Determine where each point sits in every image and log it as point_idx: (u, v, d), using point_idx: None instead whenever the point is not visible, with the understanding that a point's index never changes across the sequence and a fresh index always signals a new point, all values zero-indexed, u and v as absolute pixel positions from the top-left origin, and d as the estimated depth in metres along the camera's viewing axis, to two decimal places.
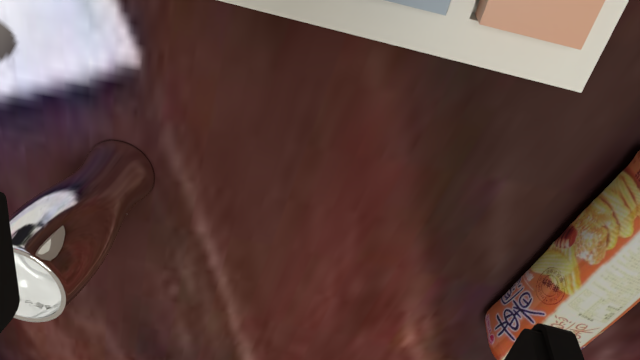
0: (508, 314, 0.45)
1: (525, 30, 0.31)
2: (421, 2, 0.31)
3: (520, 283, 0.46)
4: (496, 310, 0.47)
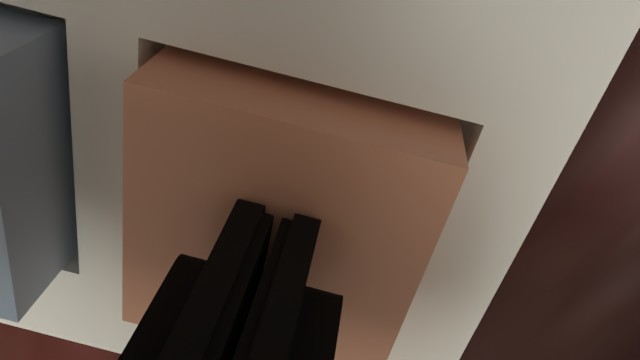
0: None
1: None
2: None
3: None
4: None
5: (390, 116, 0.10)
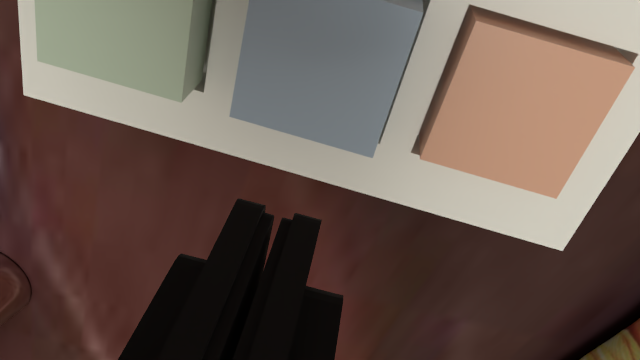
0: None
1: (481, 170, 0.22)
2: (338, 139, 0.21)
3: None
4: None
5: (588, 45, 0.20)
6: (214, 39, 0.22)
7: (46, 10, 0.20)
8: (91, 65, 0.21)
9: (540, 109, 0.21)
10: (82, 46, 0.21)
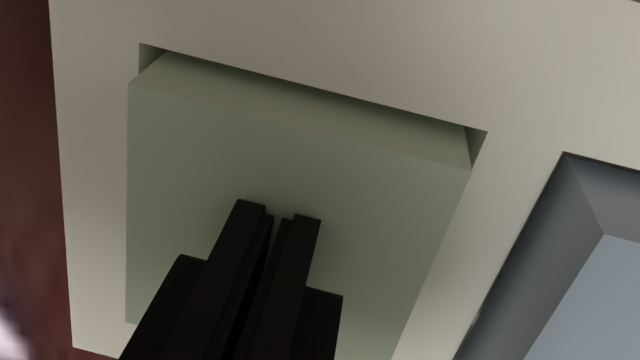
0: None
1: None
2: None
3: None
4: None
5: None
6: (425, 292, 0.12)
7: (147, 256, 0.11)
8: None
9: None
10: None
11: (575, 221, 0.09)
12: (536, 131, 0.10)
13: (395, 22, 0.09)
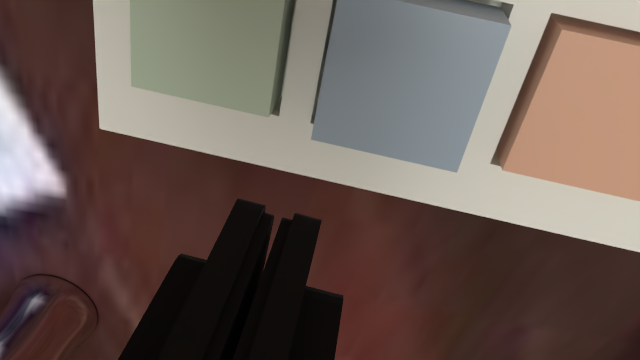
0: None
1: (567, 178, 0.22)
2: (421, 156, 0.21)
3: None
4: None
5: None
6: (290, 63, 0.22)
7: (141, 38, 0.22)
8: (182, 87, 0.22)
9: (628, 113, 0.20)
10: (174, 69, 0.22)
11: None
12: None
13: None
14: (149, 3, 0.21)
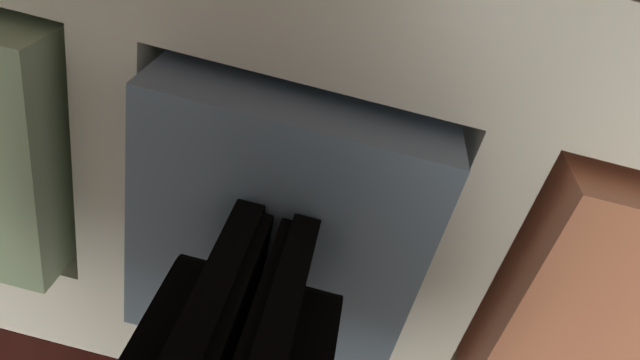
0: None
1: None
2: None
3: None
4: None
5: None
6: (79, 202, 0.12)
7: None
8: None
9: None
10: None
11: None
12: (105, 21, 0.10)
13: None
14: None
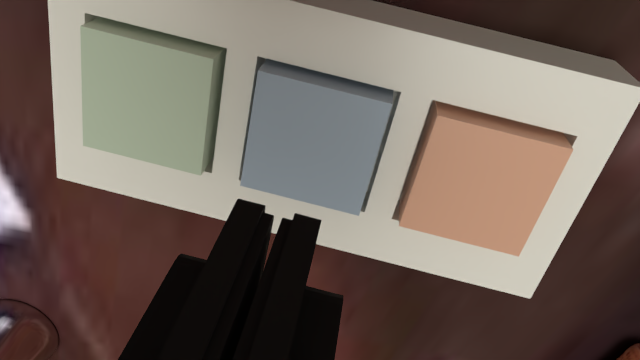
0: None
1: (452, 234, 0.26)
2: (329, 201, 0.26)
3: None
4: None
5: (535, 129, 0.24)
6: (219, 130, 0.26)
7: (91, 107, 0.25)
8: (127, 148, 0.26)
9: (497, 183, 0.24)
10: (120, 133, 0.26)
11: None
12: (245, 47, 0.24)
13: (182, 3, 0.23)
14: (98, 79, 0.25)
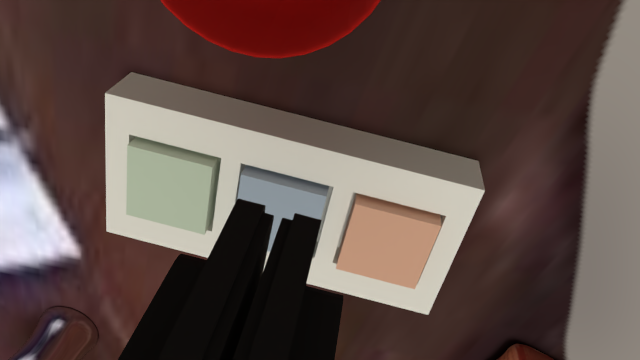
0: None
1: (370, 274, 0.39)
2: None
3: None
4: None
5: (420, 210, 0.37)
6: (217, 205, 0.39)
7: (132, 192, 0.39)
8: (155, 217, 0.40)
9: (396, 244, 0.38)
10: (151, 208, 0.39)
11: None
12: (232, 158, 0.37)
13: (192, 131, 0.36)
14: (137, 176, 0.38)
